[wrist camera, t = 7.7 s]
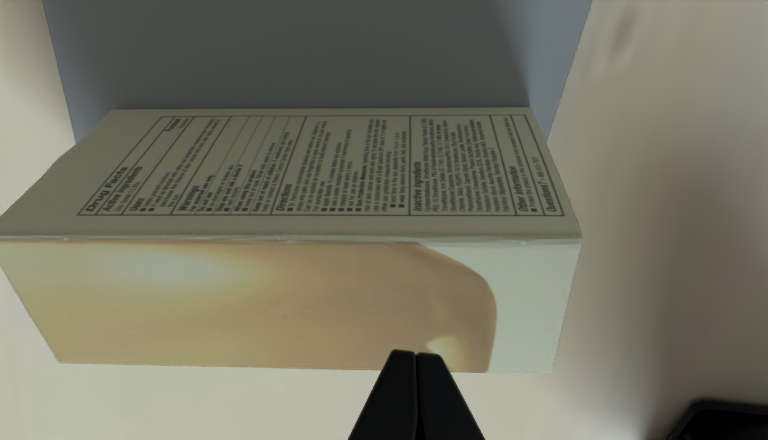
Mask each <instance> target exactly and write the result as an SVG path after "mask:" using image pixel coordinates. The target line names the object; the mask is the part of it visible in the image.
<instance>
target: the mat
mask: <svg viewBox="0 0 768 440" xmlns="http://www.w3.org/2000/svg"><path fill="white" fill-rule="evenodd" d="M42 2H43V6H44V10H45V14H46V19H47V23H48V27H49V31H50V35H51V39H52V44H53V48H54V52H55V56H56V60H57V65H58V69H59V73H60V77H61V81H62V86H63V90H64V94H65V98H66V102H67V106H68V111H69V115H70V119H71V123H72V127H73V132H74V136H75V140H76V144H77V143H78V142H79V141H80V140H81V139H82V138H83V137H84V136H85V135H86V134H87V133H88V132H90V131H91V130H92V129H93V128H94V127H95V126H96V125H97V124H98V123H99V122H100V121H101V120H102V119H103V118H104V117H106V116H107V115H108V113H109V112H110V111H112V110H114V109H303V108H486V107H528V108H531V109H532V111H533V114H534V116H535V118H536V120H537V123H538V125H539V127H540V129H541V132H542V134H543V136H544V139H545V141H547V138H548V135H549V132H550V129H551V126H552V123H553V120H554V117H555V113H556V110H557V107H558V104H559V101H560V98H561V95H562V92H563V89H564V86H565V83H566V80H567V77H568V74H569V71H570V68H571V65H572V61H573V58H574V55H575V52H576V49H577V46H578V43H579V40H580V37H581V34H582V31H583V28H584V25H585V22H586V19H587V16H588V12H589V9H590V6H591V3H592V0H42Z"/></svg>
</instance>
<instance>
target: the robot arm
mask: <svg viewBox="0 0 768 440" xmlns="http://www.w3.org/2000/svg"><path fill="white" fill-rule="evenodd" d="M348 440H485V438H484V436H483V434H482V433H481V431H480V429H479V427H478V425H477V423H476V421H475V419H474V417H473V415H472V413H471V411H470V410H469V408H468V406H467V404H466V402H465V400H464V398H463V396H462V394H461V392H460V390H459V388H458V387H457V385H456V383H455V381H454V379H453V377H452V375H451V373H450V371H449V369H448V367H447V365H446V364H445V362H444V360H443V358H442V357H441V356H440V355H439V354H436V353H427V352H418V353H417V354H415V352H413V351H409V350H400V349H393V350H392V351H391V352H390V354H389V356H388V358H387V360H386V362H385V364H384V367H383V369H382V371H381V373H380V375H379V377H378V379H377V381H376V383H375V385H374V387H373V389H372V391H371V393H370V395H369V397H368V399H367V401H366V403H365V405H364V407H363V409H362V411H361V414H360V416H359V418H358V420H357V422H356V424H355V426H354V428H353V430H352V432H351V434H350V436H349V438H348ZM666 440H768V407H759V406H750V405H741V404H733V403H724V402H715V401H699V402H696V403H694V404H692V405H691V406H690V408H689V409H688V410H687V412H686V413H685V414H684V416H683V417H682V418H681V420H680V421H679V423H678V424H677V425H676V427H675V428H674V429H673V431H672V432H671V433H670V435H669V436H668V438H667V439H666Z"/></svg>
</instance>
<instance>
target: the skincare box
mask: <svg viewBox="0 0 768 440" xmlns="http://www.w3.org/2000/svg"><path fill="white" fill-rule="evenodd" d="M581 245H582V233H581V229H580V226H579V223H578V221H577V218H576V216H575V213H574V211H573V208H572V205H571V203H570V200H569V198H568V195H567V193H566V190H565V188H564V185H563V182H562V180H561V178H560V176H559V173H558V171H557V168H556V166H555V164H554V161H553V159H552V156H551V154H550V151H549V149H548V146H547V144H546V141H545V139H544V136H543V134H542V132H541V129H540V127H539V125H538V123H537V120H536V118H535V116H534V114H533V111H532V109H531V108H528V107H486V108H303V109H114V110H112V111H110V112H109V113H108V115H107V116H106V117H104V118H103V119H102V120H101V121H100V122H99V123H98V124H97V125H96V126H95V127H94V128H93V129H92V130H91V131H90V132H88V133H87V134H86V135H85V136H84V137H83V138H82V139H81V140H80V141H79V142H78V143H77V144H76V145H75V146H73V147H72V148H71V149H69V150H68V151H67V152H66V153H64V154H63V155H62V156H61V157H59V158H58V159H57V160H56V161H55V162H54V163H53V164H52V166H51V167H50V168H49V169H48V170H47V172H46V173H45V174H44V175H43V176H42V177H41V178H40V179H39V180H38V181H37V182H36V183H35V184H34V185H33V186H31V187H30V188H29V189H28V190H27V191H26V192H25V193H24V194H23V195H22V196H21V197H20V198H19V199H18V200H17V201H16V202H15V203H14V204H13V205H12V206H11V207H10V208H9V209H8V210H7V211H6V212H5V213H4V214H2V215H1V216H0V267H1V268H2V270H3V272H4V274H5V275H6V277H7V279H8V281H9V282H10V284H11V285H12V287H13V289H14V291H15V292H16V294H17V295H18V297H19V298H20V300H21V302H22V304H23V305H24V307H25V309H26V311H27V312H28V314H29V316H30V318H31V319H32V320H33V322H34V323H35V325H36V327H37V328H38V330H39V332H40V334H41V335H42V337H43V338H44V340H45V341H46V343H47V344H48V346H49V348H50V350H51V351H52V353H53V355H54V357H55V358H56V360H57V361H58V362H59V363H71V364H115V365H160V366H202V367H254V368H291V369H332V370H382V369H383V367H384V364H385V362H386V360H387V358H388V356H389V354H390V352H391V351H392V350H393V349H400V350H409V351H413V352H415V354H417V353H418V352H427V353H436V354H439V355H440V356H441V357H442V358H443V360H444V362H445V364H446V365H447V367H448V369H449V371H450V372H472V373H516V374H549V373H551V372H552V368H553V364H554V360H555V355H556V350H557V346H558V342H559V338H560V334H561V329H562V325H563V321H564V316H565V312H566V308H567V304H568V300H569V295H570V291H571V287H572V283H573V278H574V274H575V269H576V265H577V261H578V257H579V253H580V249H581Z"/></svg>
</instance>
